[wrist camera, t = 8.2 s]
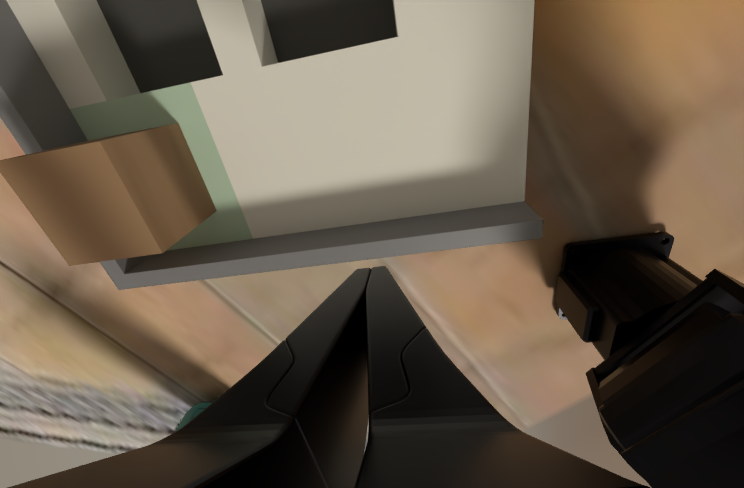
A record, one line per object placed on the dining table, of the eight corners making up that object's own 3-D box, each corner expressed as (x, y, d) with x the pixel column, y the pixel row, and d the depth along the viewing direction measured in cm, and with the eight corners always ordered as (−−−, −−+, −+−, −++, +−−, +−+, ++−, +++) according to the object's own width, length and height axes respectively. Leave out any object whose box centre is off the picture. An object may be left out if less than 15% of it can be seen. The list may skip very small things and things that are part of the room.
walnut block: (178, 122, 16) (99, 141, 12) (216, 210, 19) (162, 253, 14) (95, 139, 17) (-8, 162, 13) (142, 222, 19) (69, 265, 15)
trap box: (516, -242, 12) (598, -452, 7) (507, 198, 20) (541, 238, 16) (3, -74, 15) (-177, -141, 11) (174, 245, 24) (118, 289, 19)
